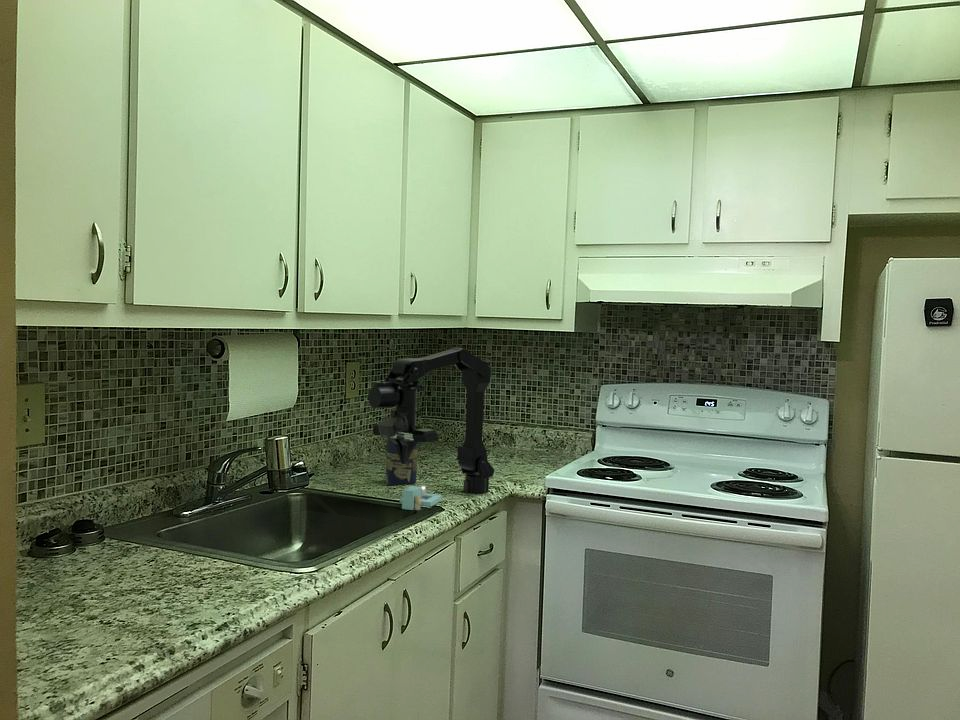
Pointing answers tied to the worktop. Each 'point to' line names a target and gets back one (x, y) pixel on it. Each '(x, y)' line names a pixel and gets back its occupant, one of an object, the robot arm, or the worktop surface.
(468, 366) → the robot arm
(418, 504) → the dowel
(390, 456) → the canister
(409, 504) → the flange
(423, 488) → the post
